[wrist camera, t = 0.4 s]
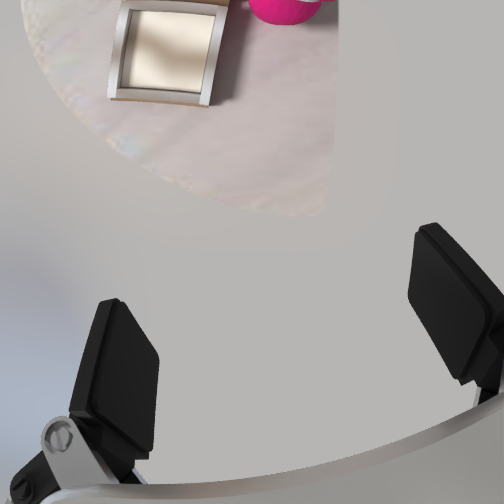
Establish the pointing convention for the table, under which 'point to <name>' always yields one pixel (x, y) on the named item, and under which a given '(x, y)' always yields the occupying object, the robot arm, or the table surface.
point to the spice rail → (166, 51)
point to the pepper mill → (285, 10)
